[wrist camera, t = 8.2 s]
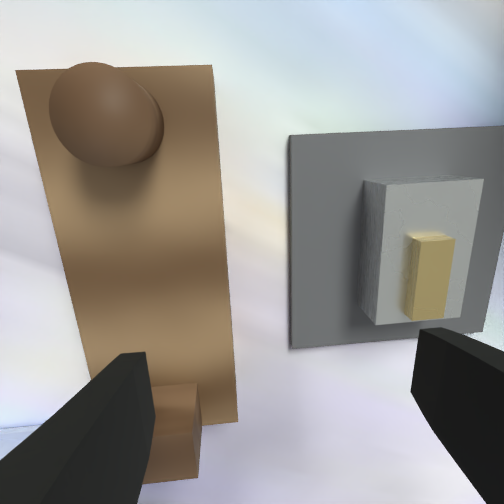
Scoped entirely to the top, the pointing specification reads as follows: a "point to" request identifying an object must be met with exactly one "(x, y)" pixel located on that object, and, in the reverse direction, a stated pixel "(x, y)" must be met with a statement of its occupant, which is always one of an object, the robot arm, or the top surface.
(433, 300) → the lever cap
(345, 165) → the gray switch plate
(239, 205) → the top surface
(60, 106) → the board with knob
